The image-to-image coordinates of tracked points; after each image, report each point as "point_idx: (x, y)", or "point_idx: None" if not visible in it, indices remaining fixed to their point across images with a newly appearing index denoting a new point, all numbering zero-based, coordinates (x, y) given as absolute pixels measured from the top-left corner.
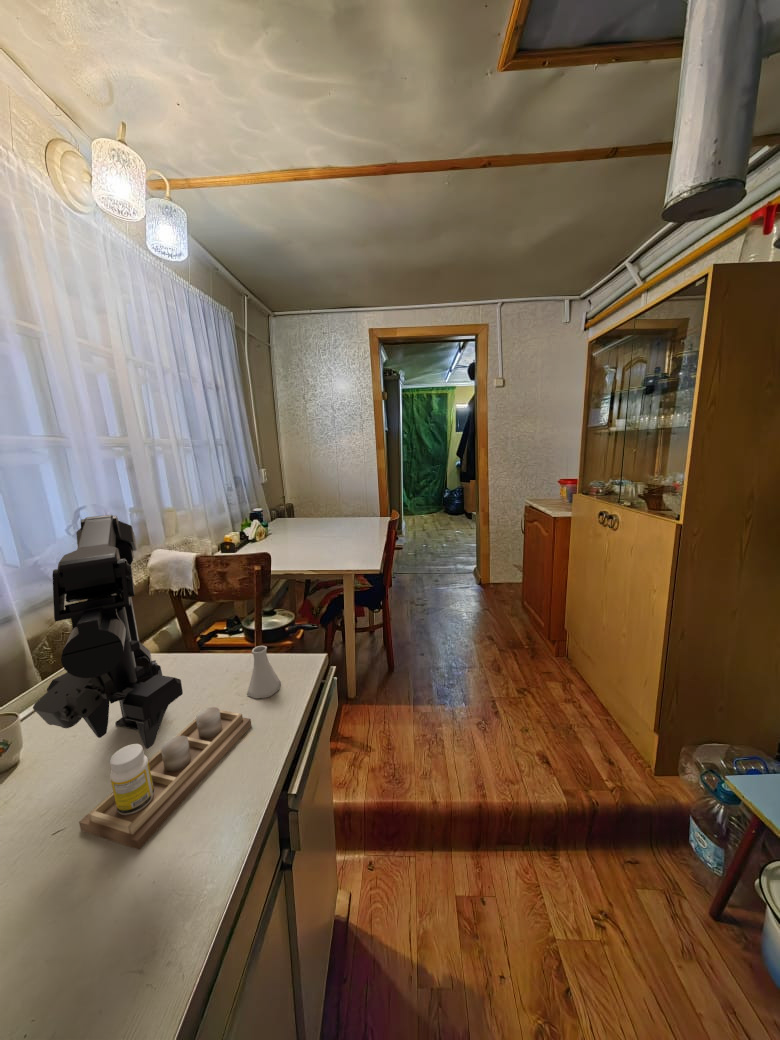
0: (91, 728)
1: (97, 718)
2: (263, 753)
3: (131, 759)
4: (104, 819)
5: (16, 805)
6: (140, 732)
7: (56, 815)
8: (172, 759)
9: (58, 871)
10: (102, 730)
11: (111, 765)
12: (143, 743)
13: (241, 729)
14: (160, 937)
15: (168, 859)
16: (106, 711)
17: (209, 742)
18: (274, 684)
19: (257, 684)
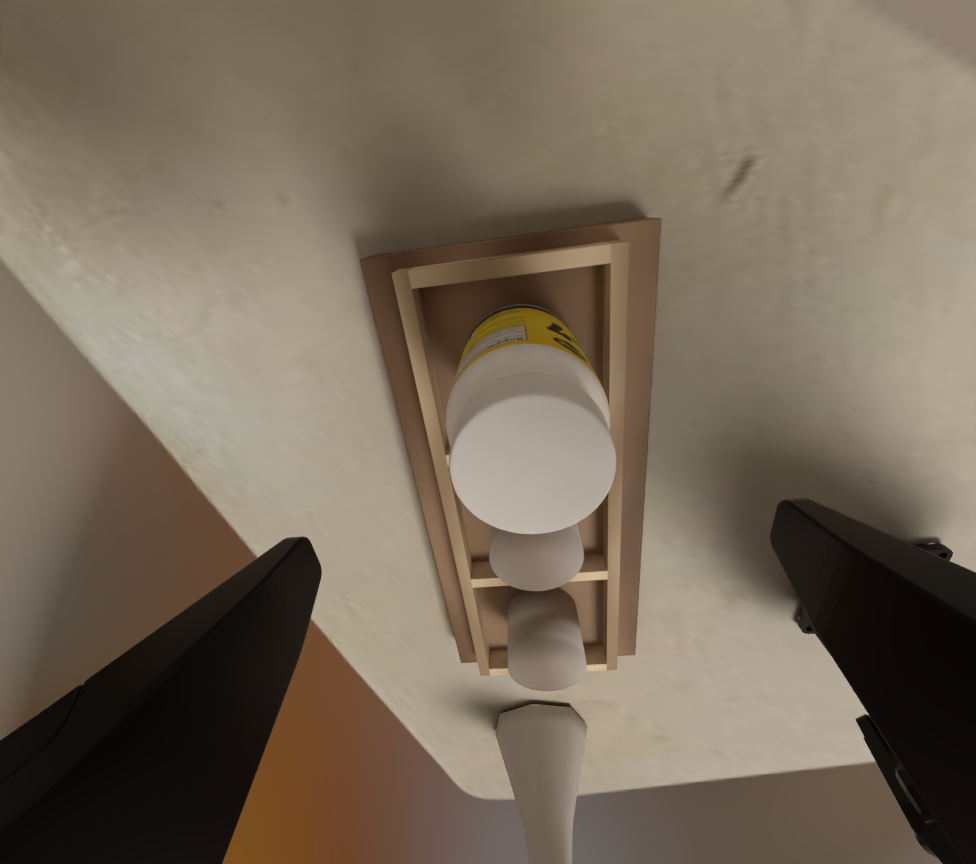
0: (918, 554)
1: (938, 677)
2: (346, 589)
3: (456, 454)
4: (533, 254)
5: None
6: (137, 679)
7: (819, 218)
8: None
9: (566, 71)
10: (801, 557)
11: (550, 388)
12: (270, 567)
13: (454, 632)
14: (20, 93)
15: (256, 273)
16: (909, 751)
17: (477, 585)
18: (502, 752)
19: (535, 753)
